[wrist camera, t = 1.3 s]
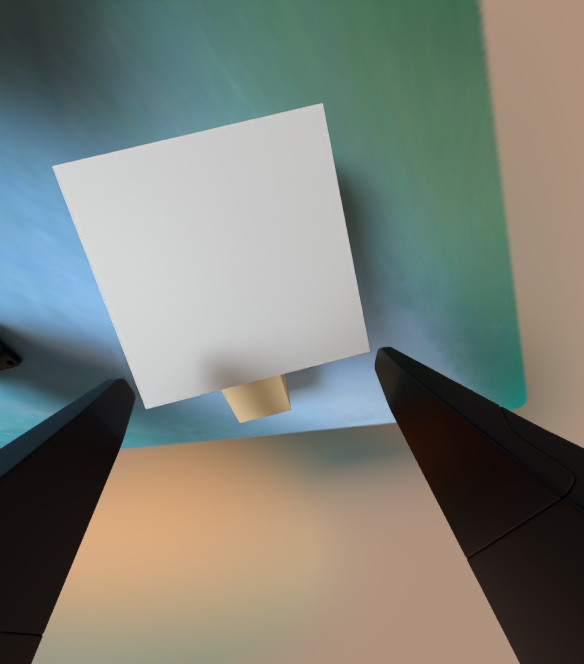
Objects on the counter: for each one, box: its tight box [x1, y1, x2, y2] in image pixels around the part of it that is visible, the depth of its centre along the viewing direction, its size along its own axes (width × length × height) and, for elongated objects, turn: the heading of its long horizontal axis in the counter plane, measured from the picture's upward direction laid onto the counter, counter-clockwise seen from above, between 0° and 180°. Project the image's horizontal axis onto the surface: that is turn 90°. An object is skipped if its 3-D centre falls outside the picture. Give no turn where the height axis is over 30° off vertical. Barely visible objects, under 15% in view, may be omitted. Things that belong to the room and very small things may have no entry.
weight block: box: [221, 374, 291, 423], centre depth 22 cm, size 5×5×5 cm
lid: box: [52, 103, 370, 409], centre depth 11 cm, size 12×11×1 cm
